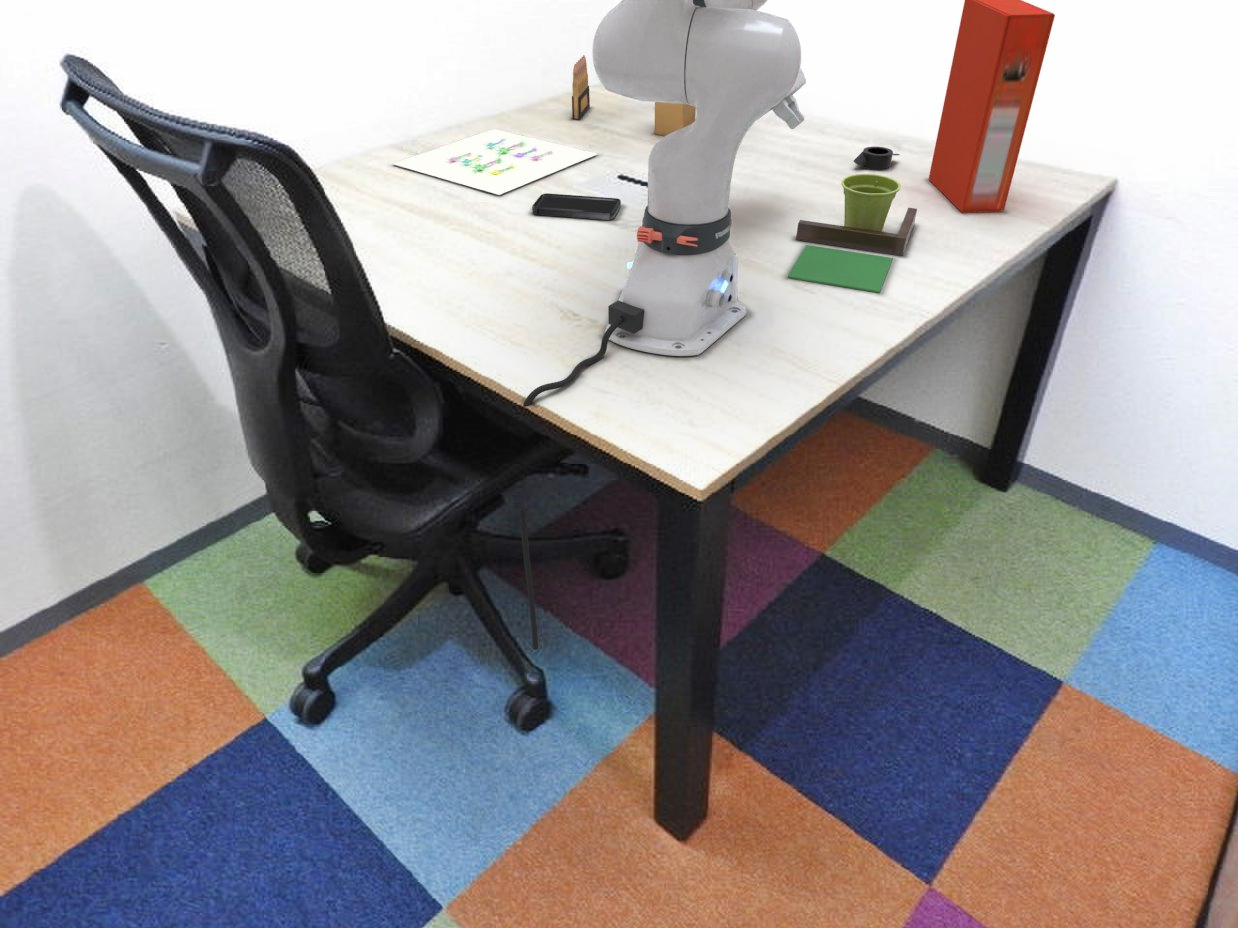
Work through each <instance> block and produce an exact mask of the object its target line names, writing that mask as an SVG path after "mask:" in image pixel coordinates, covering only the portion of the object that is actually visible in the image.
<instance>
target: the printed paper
mask: <svg viewBox="0 0 1238 928" xmlns="http://www.w3.org/2000/svg"><path fill="white" fill-rule="evenodd" d="M597 155H598V153H597V152H592V151H587V150H584V149H580V148H576V147H571V146H567V145H563V144H558V143H555V142H550V141H547V140H543V139H538V138H534V137H530V136H526V135H522V134H517V133H513V132H508V131H506V130H505V131H504V130H500V129H495V128H492V129H489V130H487V131H486V130H485V131H484V132H481V133H477V134H475V135H472V136H469V137H466V138H463V139H460V140H457V141H454V142H451V143H449V144H446V145H442V146H440V147H437V148H434V149H430V150H428V151H424V152H422V153H419V154H416V155H414V156H410V157H407V158H405V159H402V160H398V161H395V162H393V163H392V165H394V166H397V167H400V168H404V169H408V170H412V171H415V172H419V173H422V174H425V175H428V176H432V177H434V178H435V177H437V178H439V179H443V180H446V181H449V182H452V183H455V184H459V185H464V186H467V187H470V188H473V189H477V190H481V191H484V192H488V193H491V194H493V195H498V196H501V195H503V194H505V193H507V192H511V191H513V190H514V189H518V188H519V187H522V186H525V185H526V184H529V183H532V182H534V181H537V180H539V179H542V178H544V177H546V176H549V175H551V174H554V173H556V172H558V171H561V170H563V169H565V168H568V167H570V166H572V165H576V164H578V163H580V162H582V161H583V162H584V160H588V159H589V158H593V157H594V156H597Z"/></svg>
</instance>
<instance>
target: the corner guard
mask: <svg viewBox="0 0 1238 928" xmlns="http://www.w3.org/2000/svg"><path fill="white" fill-rule="evenodd" d="M917 212H918V208H915V207H908V208H907V210H906V213H905V215H904V217H903V220H902V223H901V226H900V227H899V230H898V233H894V232H887V231H882V232H881V231H874V230H867V229H860V228H853V227H846V226H844V225H838V224H832V223H824V222H817V221H812V220H811V221H810V220H805V219H800V220H799V221H798V222H797V228H796V229H797V230H796V237H795V240H796V241H800V242H801V241H802V242H807V243H815V244H821V245H828V246H833V247H841V248H848V249H853V250H854V249H855V250H861V251H866V252H872V253H873V252H875V253H880V254H886V255H895V256H900V257H903V256H904V253H905V250H906V247H907V244H908V242H909V240H910V238H911V234H912V231H913V229H914V226H915V221H916V217H917Z"/></svg>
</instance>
